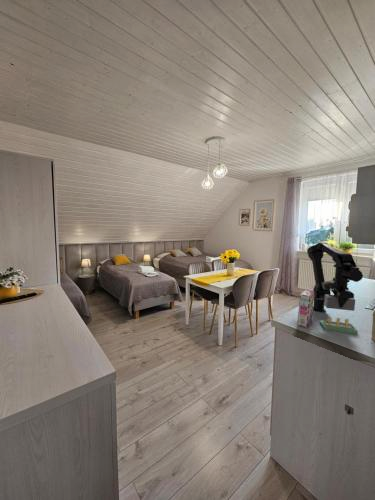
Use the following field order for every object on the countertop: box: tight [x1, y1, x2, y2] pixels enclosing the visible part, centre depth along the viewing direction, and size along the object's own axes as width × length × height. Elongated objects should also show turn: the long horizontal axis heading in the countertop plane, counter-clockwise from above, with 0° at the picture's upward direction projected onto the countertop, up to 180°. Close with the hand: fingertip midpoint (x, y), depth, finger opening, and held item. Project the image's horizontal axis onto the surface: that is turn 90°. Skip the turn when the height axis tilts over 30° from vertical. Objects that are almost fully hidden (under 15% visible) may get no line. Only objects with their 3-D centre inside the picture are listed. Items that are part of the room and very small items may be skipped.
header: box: [319, 316, 359, 335], centre depth 110 cm, size 8×14×5 cm, turn 73°
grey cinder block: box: [324, 294, 356, 312], centre depth 117 cm, size 5×12×6 cm, turn 73°
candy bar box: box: [296, 289, 314, 329], centre depth 115 cm, size 11×5×16 cm, turn 141°
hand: (338, 305), depth 117 cm, fingers closed on grey cinder block, 5 cm apart
